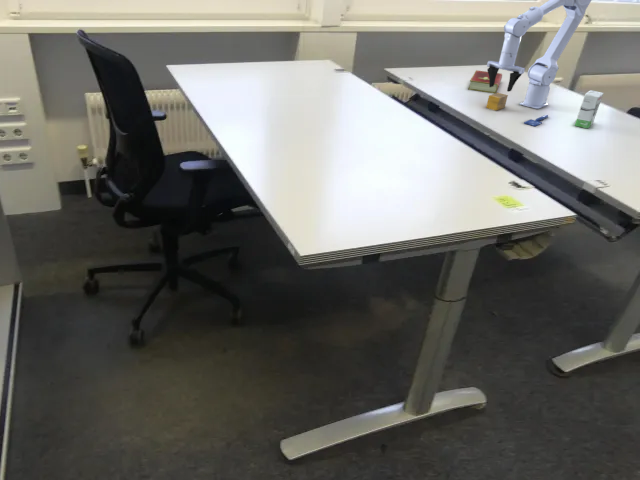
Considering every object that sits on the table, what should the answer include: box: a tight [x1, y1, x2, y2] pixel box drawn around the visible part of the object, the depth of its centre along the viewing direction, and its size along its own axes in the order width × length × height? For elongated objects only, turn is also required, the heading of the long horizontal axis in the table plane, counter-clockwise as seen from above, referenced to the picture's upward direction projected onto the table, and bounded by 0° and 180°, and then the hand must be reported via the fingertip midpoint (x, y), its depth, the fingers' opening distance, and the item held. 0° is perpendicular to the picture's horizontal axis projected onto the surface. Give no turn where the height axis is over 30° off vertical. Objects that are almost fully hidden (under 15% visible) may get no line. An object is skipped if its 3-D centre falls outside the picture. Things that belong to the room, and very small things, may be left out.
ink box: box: [574, 90, 604, 129], centre depth 205 cm, size 9×5×12 cm, turn 142°
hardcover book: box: [467, 69, 503, 94], centre depth 249 cm, size 12×21×4 cm, turn 156°
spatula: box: [523, 114, 549, 127], centre depth 209 cm, size 15×4×1 cm, turn 133°
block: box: [485, 92, 509, 112], centre depth 221 cm, size 7×4×5 cm, turn 133°
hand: (500, 88), depth 218 cm, fingers open, 7 cm apart
